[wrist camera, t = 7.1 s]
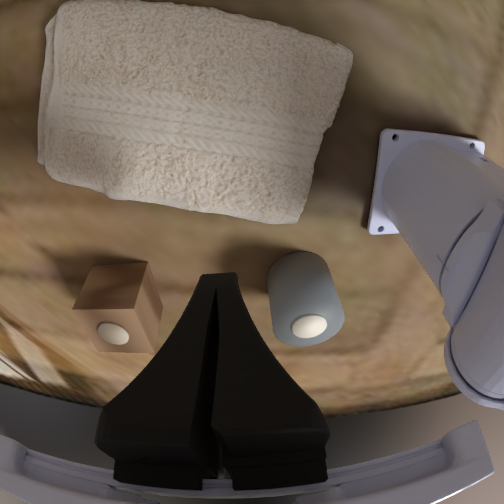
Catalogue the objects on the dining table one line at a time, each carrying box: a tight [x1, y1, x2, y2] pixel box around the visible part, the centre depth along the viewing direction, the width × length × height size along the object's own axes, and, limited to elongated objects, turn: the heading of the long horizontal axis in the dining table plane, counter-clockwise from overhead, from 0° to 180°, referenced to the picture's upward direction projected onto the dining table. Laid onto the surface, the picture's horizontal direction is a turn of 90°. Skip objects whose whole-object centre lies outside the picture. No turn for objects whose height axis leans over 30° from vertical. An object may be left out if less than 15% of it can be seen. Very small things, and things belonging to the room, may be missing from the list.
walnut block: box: [72, 262, 163, 353], centre depth 23 cm, size 5×5×5 cm
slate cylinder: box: [267, 252, 345, 346], centre depth 23 cm, size 5×5×5 cm
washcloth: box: [37, 0, 353, 224], centre depth 15 cm, size 12×18×3 cm, turn 76°
